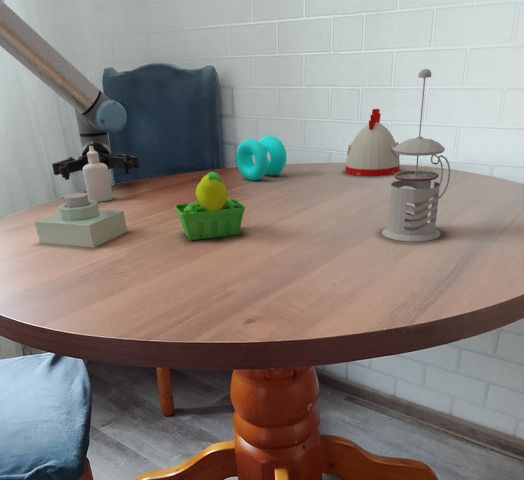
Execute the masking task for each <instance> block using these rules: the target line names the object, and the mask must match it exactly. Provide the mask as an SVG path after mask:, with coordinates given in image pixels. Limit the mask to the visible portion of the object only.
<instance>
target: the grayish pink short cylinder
mask: <svg viewBox="0 0 524 480" xmlns="http://www.w3.org/2000/svg"><path fill="white" fill-rule="evenodd" d="M63 199H64V203H65V204H66V207H67V208H76V207H83V206H87V205H89V200H88V195H87V192H74V193H68V194H65V195H64V196H63Z"/></svg>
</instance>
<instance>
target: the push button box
mask: <svg viewBox="0 0 524 480" xmlns="http://www.w3.org/2000/svg"><path fill="white" fill-rule="evenodd" d="M56 210H57V212H56V213H52V214H50V215H47V216H44V217H42V218H38V219H35V220H34V225H35V228H36V233H37V236H38V240H39V244H48V245H49V244H51V245H58V246H59V245H60V246H71V247H79V248H81V247H82V248H91V249H94V248H97V247H98V246H100V245H103V244H105V243H107V242H109V241H111V240H113V239H115V238H118V237H119V236H122V235H124V234H126V233H128V228H127V223H126V222H127V221H126V218H125V217H126V216H125V211H124V210H122V209H121V210H119V209H105V208H100V206H99V202H97V201H94V200H89V205H87V206H83V207H76V208H67V207H66V204H65V202H63V203H60V204H58V205H57V206H56Z"/></svg>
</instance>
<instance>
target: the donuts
mask: <svg viewBox="0 0 524 480" xmlns="http://www.w3.org/2000/svg"><path fill="white" fill-rule="evenodd" d="M268 153H269V156H270V157H269V158H270V159H269V158H268ZM235 157H236V158H235V159H236V165H237V168H238V171H239V172H240V174H241V175H242V176H243V177H244V178H245V179H247V180H249V181H257V180H260V179H261V178H263V177H264V176H265V175H267V176H271V177H274V176H277V175H279V174H281V173H282V172H283V170H284V168H285V167H286V164H287V150H286V148H285V144H284V143H283V142H282V140H281V139H280V138H278V137H277V136H275V135H272V134H270V135H265V136H263V137H262V138H260V139H259V140H256V139H254V138H246V139H244V140H243V141H242V142H240V144H239V145H238V147H237V149H236V154H235ZM253 157H254V160H253Z"/></svg>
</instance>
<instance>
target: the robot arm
mask: <svg viewBox="0 0 524 480" xmlns="http://www.w3.org/2000/svg"><path fill="white" fill-rule="evenodd" d="M0 47H1V48H3V50H5V51H6V52H7V53H8V54H10V55H11V56H12V57H13V58H14V59H15V60H16V61H17V62H19V63H20V64H21V65H22V66H23V67H25V68H26V69H27V70H28V71H29V72H31V73H32V74H33V75H34V76H35V77H36V78H38V79H39V81H41V82H43V84H45V85H46V86H47V87H49V88H50V89H51V90H52V91H53V92H54V93H55V94H56V95H58V96H59V97H60V98H61V99H63V100H64V101H65V102H66V103H67V104H69V105H70V106H71V107H72V108H73V109H74V113H75V114H74V115H75V118H76V119H75V120H76V122H77V128H78V133H79V140H80V144H81V150H82V153H81V156H78V159H75V157H73V156H69V157H67V158H65V159H63V160H60V161H56V162H53V163H51V166H52V171H53V175H55V176H59V175H60V176H61V177H62V179H64V180H65V181H68V180H70V177H71V174H73V173H76V172H79V171H81V172H83V167H84V166H85V165H87V164H89V163H90V162H88V157H87V153H88V152H89V146H93V148H94V150H95V151H96V152H98V156H99V162H100V163H104V164H106V165H107V167H108V171H109V170H112V169H115V168H118V169H124V174H125V175H129V174H130V173H129V172H130V171H129V170H132V169H133V168H134V169H135V168H136V169H139V168H140V160H139V156H136V155H131V154H126V153H125V154H124V153H123V152H119V153H118V154H116V156H114V155H113V154H112V148H111V145H110V138H109V134H115V133H116V134H117V133H119V132H121V131H123V129H124V128H125V126H126V124H127V120H128V119H127V118H128V116H127V112H126V109H125V107H124V106H123V105H122V104H121V103H120V102H118V101H116V100H115V99H110V97H108V96H107V95H106V94H105V93H104V92H102V91H101V90H100V89H99V88H98V86H97V85H95V84H94V83H93V82H92V81H91V80H90V79H89V78H87V77H86V76H85V74H83V73H82V72H81V71H79V70H78V69H77V68H76V67H75V66H74V65H73V64H72V63H71V62H70V61H69V60H68V59H67V58H65V57H64V56H63V55H62V54H61V53H60V52H59V51H57V49H55V47H54V46H52V45H51V44H50V43H49V42H48V41H47V40H45V38H44V37H42V35H40V34H39V33H38V32H37V31H35V29H34V28H33V27H31V26H30V24H28V23H27V22H26V21H25V20H23V18H22V17H20V15H19V14H17V13H16V12H15V11H14V10H13V9H12V8H10V7H9V6H8V5H7V4H6V3H5V1H4V0H0Z"/></svg>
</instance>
